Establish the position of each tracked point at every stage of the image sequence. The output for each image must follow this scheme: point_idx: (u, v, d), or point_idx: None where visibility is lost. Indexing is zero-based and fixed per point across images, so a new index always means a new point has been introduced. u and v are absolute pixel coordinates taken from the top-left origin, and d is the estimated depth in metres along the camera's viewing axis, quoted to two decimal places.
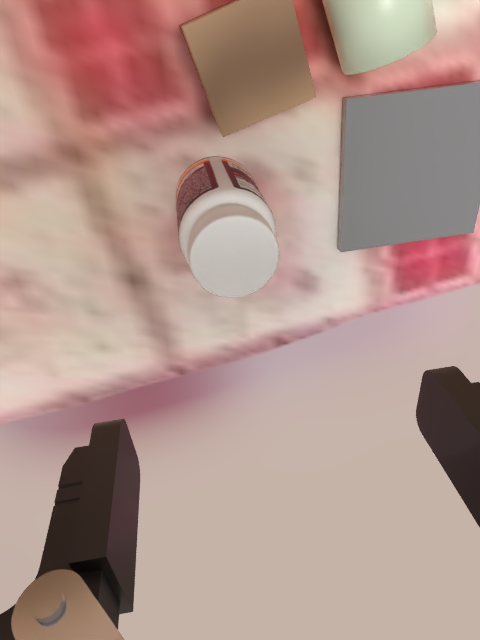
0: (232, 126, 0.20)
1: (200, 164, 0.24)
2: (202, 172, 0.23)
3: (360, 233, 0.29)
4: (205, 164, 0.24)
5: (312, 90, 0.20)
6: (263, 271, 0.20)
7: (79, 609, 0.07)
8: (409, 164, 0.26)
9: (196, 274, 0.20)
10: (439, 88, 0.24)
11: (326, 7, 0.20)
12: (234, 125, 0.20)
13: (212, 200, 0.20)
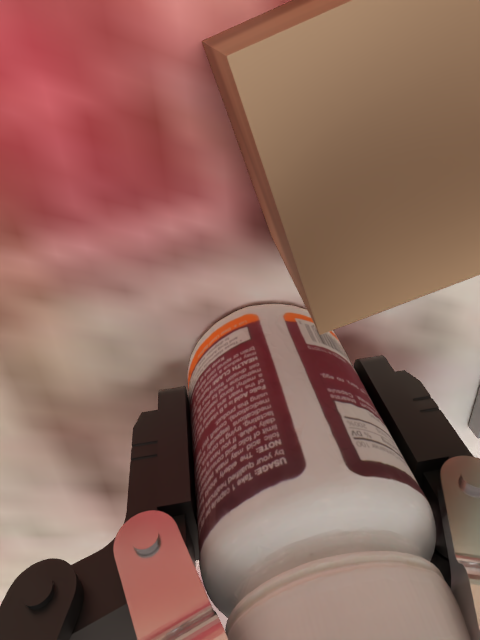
0: (346, 312, 0.08)
1: (241, 330, 0.12)
2: (250, 369, 0.10)
3: None
4: (253, 336, 0.11)
5: None
6: None
7: (174, 543, 0.08)
8: None
9: None
10: None
11: None
12: (351, 309, 0.08)
13: (294, 520, 0.07)
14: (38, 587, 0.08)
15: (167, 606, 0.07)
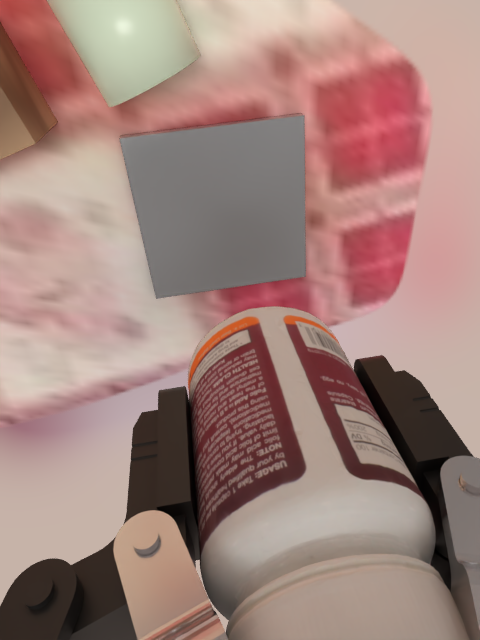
0: None
1: (241, 332, 0.12)
2: (251, 372, 0.10)
3: (174, 279, 0.26)
4: (254, 339, 0.11)
5: (29, 136, 0.17)
6: None
7: (174, 543, 0.08)
8: (212, 206, 0.24)
9: None
10: (226, 125, 0.22)
11: (65, 30, 0.17)
12: None
13: (295, 524, 0.07)
14: (38, 587, 0.08)
15: (167, 606, 0.07)
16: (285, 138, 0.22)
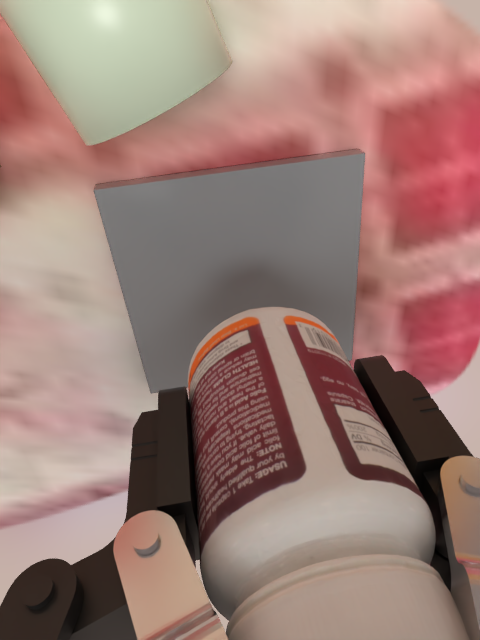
0: None
1: (241, 333, 0.12)
2: (251, 372, 0.10)
3: (175, 369, 0.19)
4: (254, 339, 0.11)
5: None
6: None
7: (174, 543, 0.08)
8: (228, 278, 0.17)
9: None
10: (251, 169, 0.15)
11: (9, 15, 0.10)
12: None
13: (294, 524, 0.07)
14: (38, 587, 0.08)
15: (167, 606, 0.07)
16: (336, 185, 0.15)
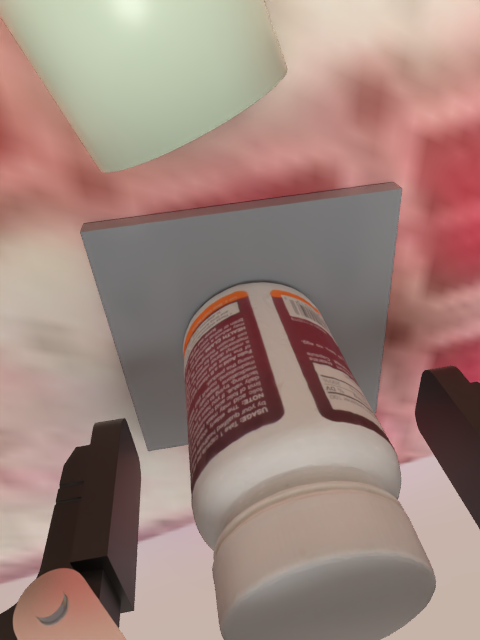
0: None
1: (231, 304, 0.13)
2: (239, 337, 0.11)
3: (176, 426, 0.17)
4: (242, 309, 0.12)
5: None
6: (390, 621, 0.09)
7: (80, 608, 0.07)
8: None
9: None
10: (268, 207, 0.12)
11: None
12: None
13: (273, 457, 0.08)
14: None
15: None
16: (366, 225, 0.13)
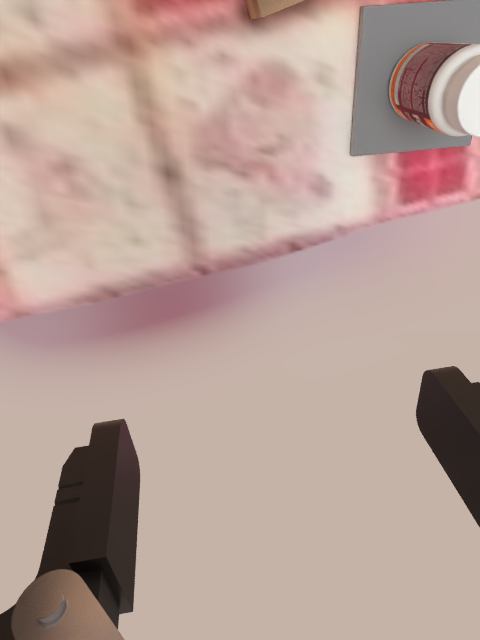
0: (270, 8, 0.24)
1: (424, 45, 0.28)
2: (437, 45, 0.27)
3: (371, 139, 0.32)
4: (432, 43, 0.28)
5: None
6: None
7: (79, 609, 0.07)
8: None
9: (460, 109, 0.24)
10: (443, 1, 0.28)
11: None
12: (271, 7, 0.24)
13: (472, 51, 0.24)
14: None
15: None
16: None
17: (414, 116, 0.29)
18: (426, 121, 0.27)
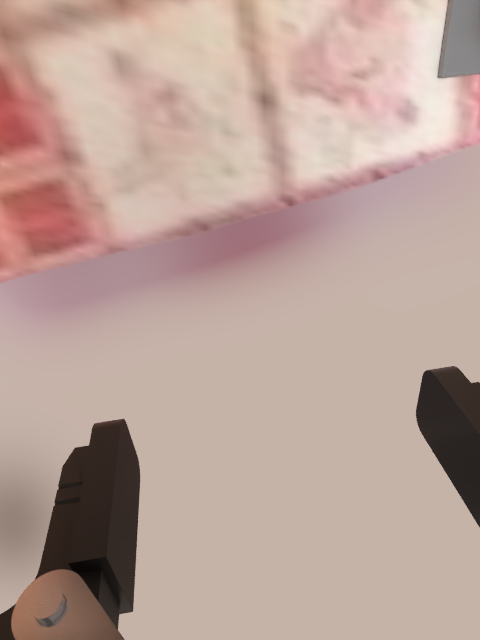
0: None
1: None
2: None
3: (460, 59, 0.33)
4: None
5: None
6: None
7: (79, 609, 0.07)
8: None
9: None
10: None
11: None
12: None
13: None
14: None
15: None
16: None
17: None
18: None
